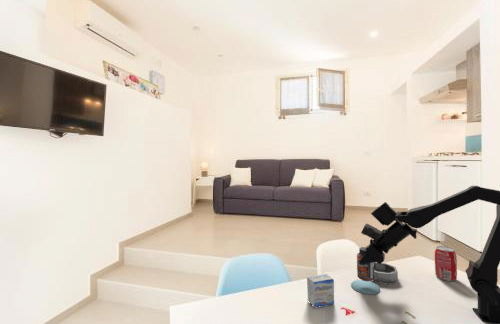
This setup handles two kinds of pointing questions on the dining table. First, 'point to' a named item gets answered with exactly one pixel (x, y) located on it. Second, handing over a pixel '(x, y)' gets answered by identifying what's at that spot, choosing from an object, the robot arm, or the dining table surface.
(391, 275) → the grey octagonal bowl
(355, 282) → the teal mat
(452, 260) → the soda can
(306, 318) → the dining table surface
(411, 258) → the dining table surface
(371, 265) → the supplement bottle
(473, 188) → the robot arm
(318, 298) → the medicine box
